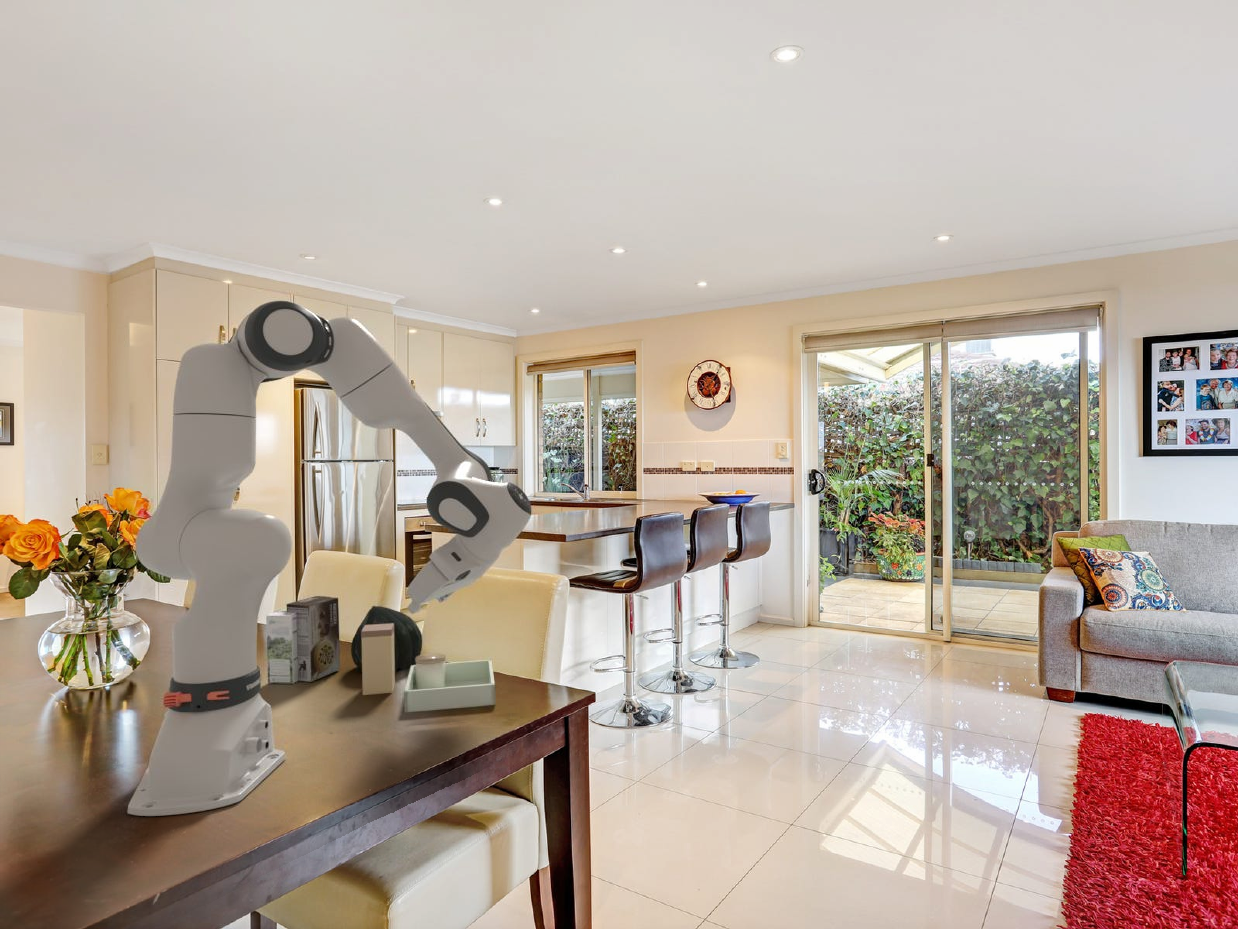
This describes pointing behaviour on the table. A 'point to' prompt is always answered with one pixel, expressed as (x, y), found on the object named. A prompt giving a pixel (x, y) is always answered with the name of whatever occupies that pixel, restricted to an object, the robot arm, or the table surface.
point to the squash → (404, 636)
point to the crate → (454, 688)
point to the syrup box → (282, 647)
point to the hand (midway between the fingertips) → (426, 604)
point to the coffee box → (317, 636)
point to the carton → (378, 659)
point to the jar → (430, 671)
